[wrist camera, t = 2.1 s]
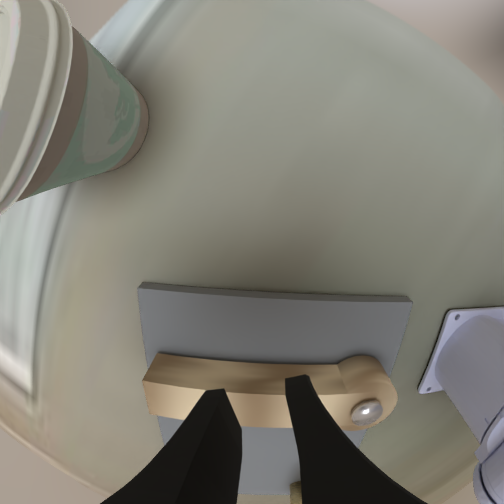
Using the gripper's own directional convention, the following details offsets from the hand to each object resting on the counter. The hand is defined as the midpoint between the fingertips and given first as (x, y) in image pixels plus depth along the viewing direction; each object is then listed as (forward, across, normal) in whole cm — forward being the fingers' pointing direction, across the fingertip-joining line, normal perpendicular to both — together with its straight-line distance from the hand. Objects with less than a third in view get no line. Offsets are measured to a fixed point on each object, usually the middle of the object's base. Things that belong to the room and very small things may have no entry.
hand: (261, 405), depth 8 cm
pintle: (+6, -5, +8) cm, 11 cm away
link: (+9, +1, +6) cm, 11 cm away
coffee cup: (+10, +7, -12) cm, 17 cm away
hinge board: (+10, +3, +12) cm, 16 cm away
